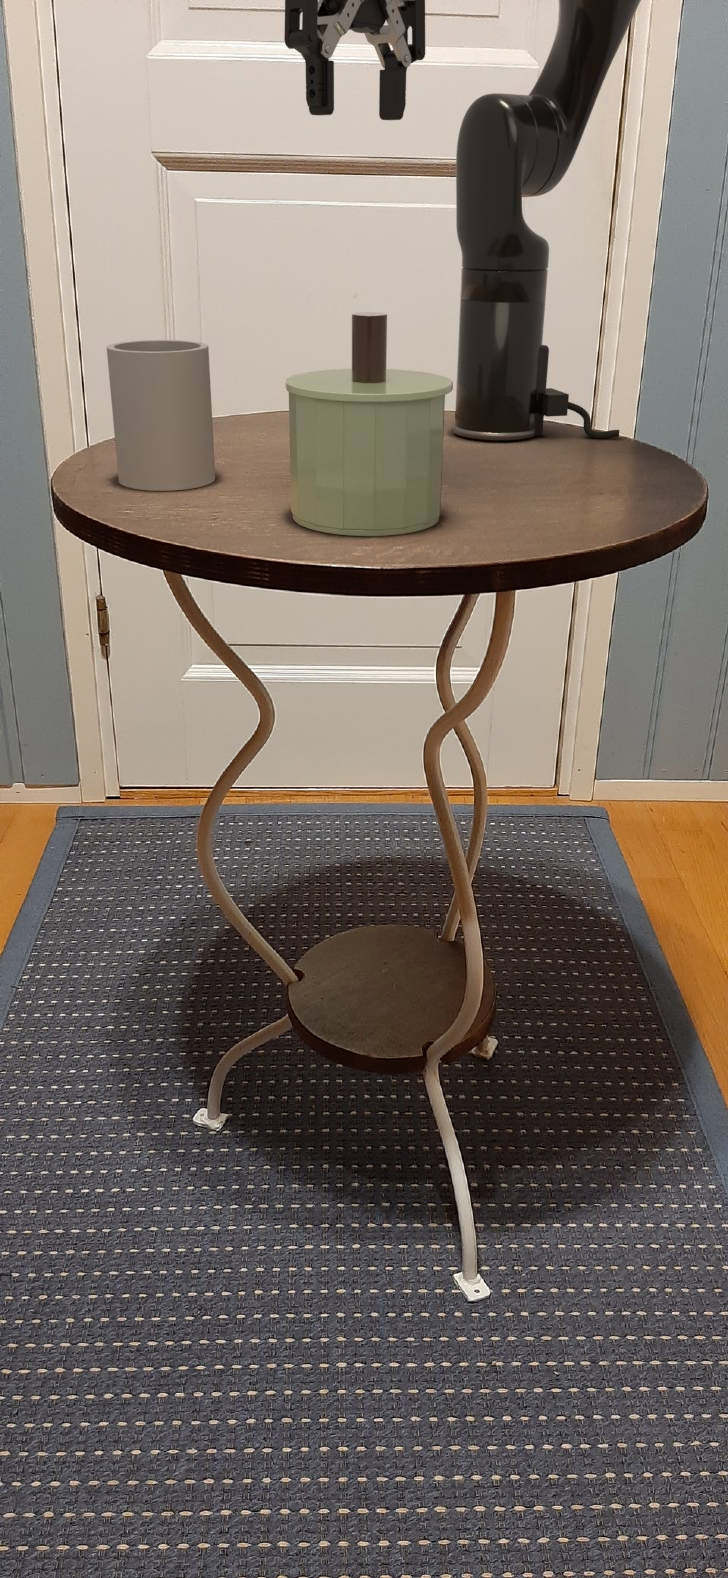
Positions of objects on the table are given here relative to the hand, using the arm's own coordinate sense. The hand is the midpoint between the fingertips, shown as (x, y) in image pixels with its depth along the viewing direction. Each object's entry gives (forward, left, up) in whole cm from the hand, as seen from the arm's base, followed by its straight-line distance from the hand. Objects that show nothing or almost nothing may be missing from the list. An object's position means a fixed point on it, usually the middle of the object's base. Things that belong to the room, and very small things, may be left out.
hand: (357, 117), depth 96 cm
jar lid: (+3, +13, -20) cm, 24 cm away
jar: (+3, +13, -30) cm, 33 cm away
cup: (+17, -5, -30) cm, 35 cm away
